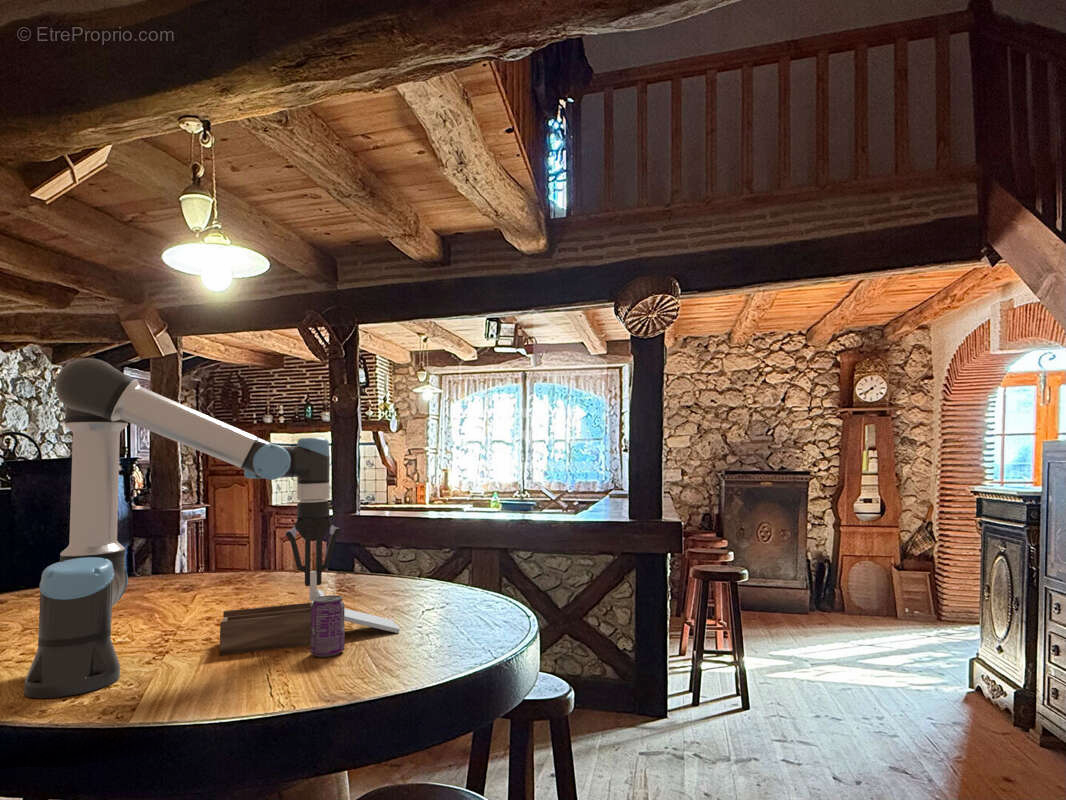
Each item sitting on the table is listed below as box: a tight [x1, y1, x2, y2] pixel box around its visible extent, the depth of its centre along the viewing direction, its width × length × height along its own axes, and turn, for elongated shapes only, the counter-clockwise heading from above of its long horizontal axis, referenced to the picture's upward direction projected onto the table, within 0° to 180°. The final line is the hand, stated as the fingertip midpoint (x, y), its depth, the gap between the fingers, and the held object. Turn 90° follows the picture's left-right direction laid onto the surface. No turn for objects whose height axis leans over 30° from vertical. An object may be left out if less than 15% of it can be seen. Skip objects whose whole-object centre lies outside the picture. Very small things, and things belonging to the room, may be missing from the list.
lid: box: [310, 589, 401, 634], centre depth 160 cm, size 11×21×4 cm, turn 112°
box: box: [219, 602, 311, 657], centre depth 153 cm, size 12×22×7 cm, turn 112°
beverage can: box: [310, 594, 345, 658], centre depth 143 cm, size 7×7×12 cm
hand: (313, 599), depth 157 cm, fingers closed
